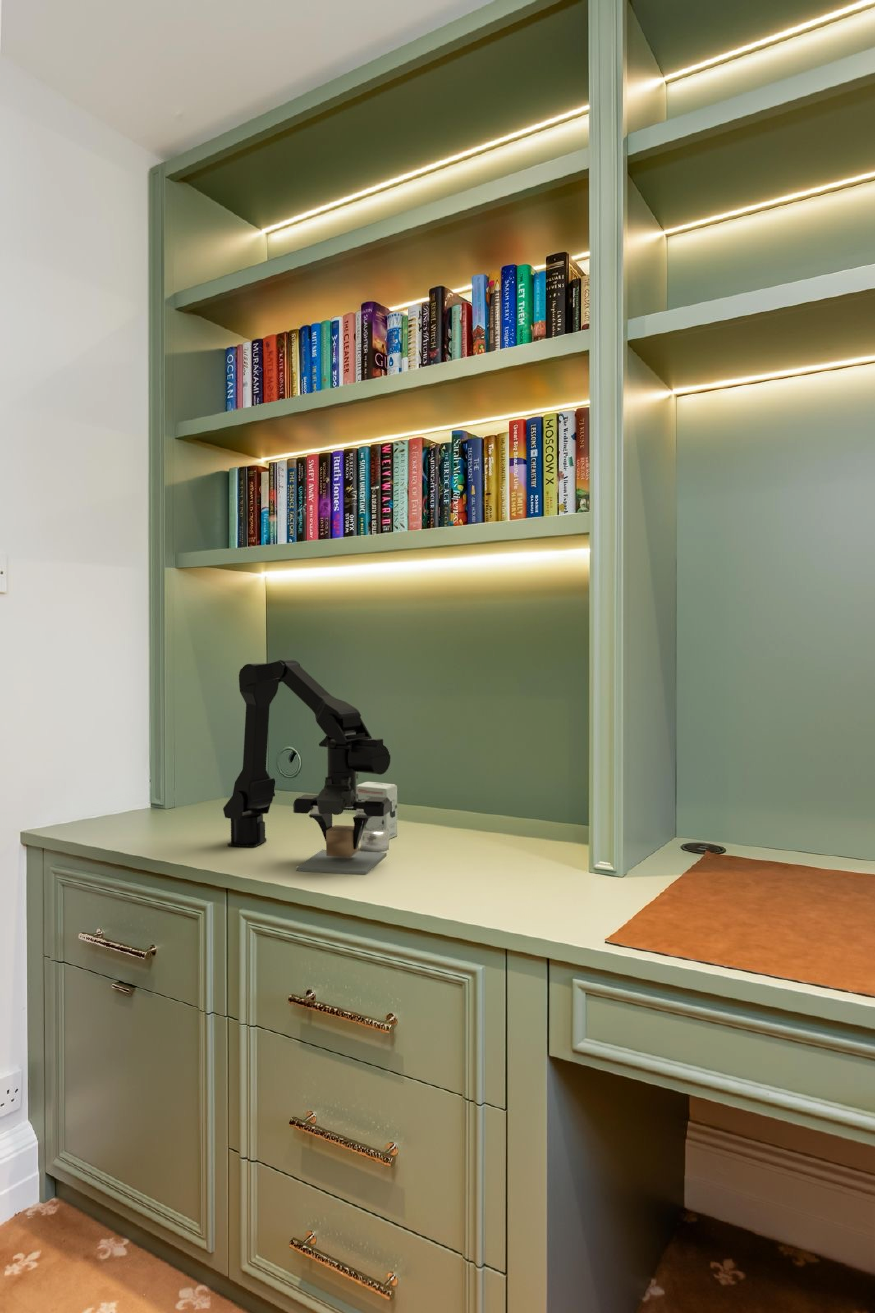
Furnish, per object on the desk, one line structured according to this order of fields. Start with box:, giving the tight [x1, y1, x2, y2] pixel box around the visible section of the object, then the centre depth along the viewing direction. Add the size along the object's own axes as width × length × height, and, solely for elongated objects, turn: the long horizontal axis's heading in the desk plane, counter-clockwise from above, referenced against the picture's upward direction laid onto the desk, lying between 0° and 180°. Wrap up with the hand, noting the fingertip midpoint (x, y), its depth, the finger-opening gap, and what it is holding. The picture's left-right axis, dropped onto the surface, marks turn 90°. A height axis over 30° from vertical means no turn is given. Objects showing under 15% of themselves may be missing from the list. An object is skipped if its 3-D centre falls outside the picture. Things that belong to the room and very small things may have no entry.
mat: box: [295, 849, 387, 875], centre depth 159 cm, size 14×14×1 cm
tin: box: [360, 827, 390, 853], centre depth 170 cm, size 6×6×4 cm
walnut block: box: [325, 824, 360, 857], centre depth 159 cm, size 5×5×5 cm
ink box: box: [355, 781, 398, 840], centre depth 181 cm, size 9×5×12 cm, turn 62°
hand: (342, 848), depth 159 cm, fingers closed on walnut block, 5 cm apart
